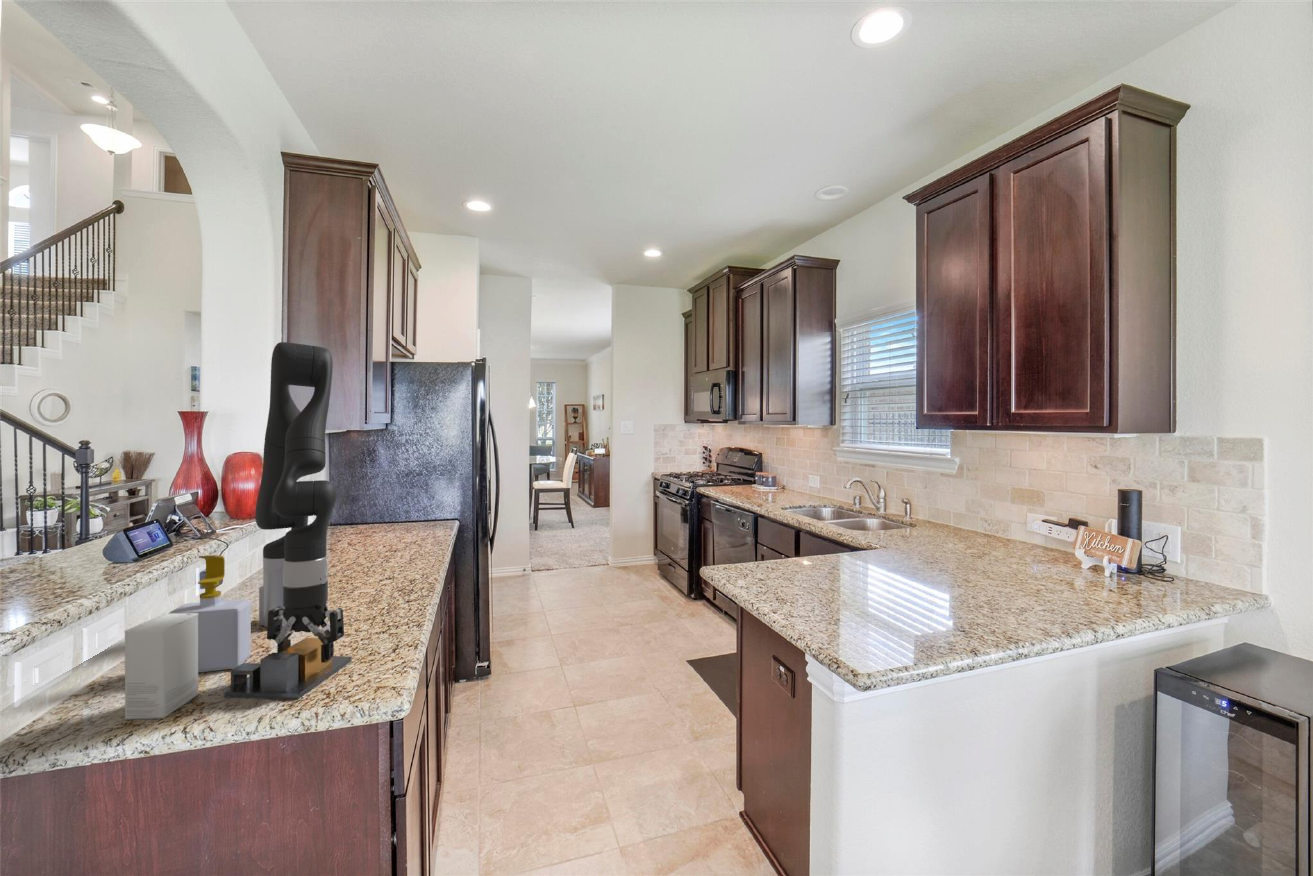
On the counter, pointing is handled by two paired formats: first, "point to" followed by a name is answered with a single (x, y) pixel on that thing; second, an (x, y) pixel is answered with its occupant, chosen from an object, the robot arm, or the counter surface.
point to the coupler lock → (308, 656)
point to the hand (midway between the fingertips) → (305, 660)
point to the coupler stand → (278, 677)
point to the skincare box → (161, 665)
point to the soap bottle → (220, 622)
